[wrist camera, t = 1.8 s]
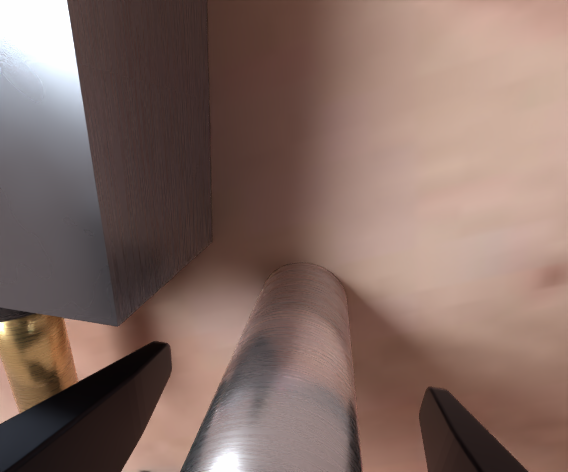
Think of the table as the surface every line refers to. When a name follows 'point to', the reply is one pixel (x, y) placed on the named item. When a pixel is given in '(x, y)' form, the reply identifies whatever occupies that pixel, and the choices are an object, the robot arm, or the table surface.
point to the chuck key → (286, 385)
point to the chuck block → (95, 170)
